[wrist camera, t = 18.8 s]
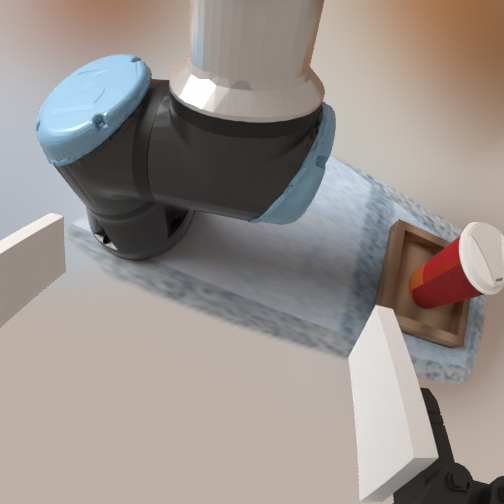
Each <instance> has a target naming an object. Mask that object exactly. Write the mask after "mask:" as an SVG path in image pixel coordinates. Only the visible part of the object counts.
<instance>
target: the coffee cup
mask: <svg viewBox="0 0 504 504" xmlns="http://www.w3.org/2000/svg"><path fill="white" fill-rule="evenodd" d="M503 287H504V236H503V235H502V233H501V232H500V231H499V230H497V229H496V228H495V227H493V226H492V225H490V224H486V223H483V222H473V223H470V224H468V225H467V227H466V228H465V229H464V231H463V232H462V234H461V236H459V237H458V238H457V239H456V240H454V241H453V242H452V243H451V244H449V245H448V246H447V247H445V248H444V249H443V250H442V251H440V252H439V253H438V254H436V255H435V256H434V257H433V258H431V259H430V260H429V261H427V262H426V263H425V264H423V265H422V266H421V267H420V268H418V269H417V270H416V271H415V272H414V273H413V274H412V276H411V277H410V280H409V292H410V295H411V298H412V299H413V301H414V302H415V303H416V304H417V305H418V306H420V307H422V308H434V307H439V306H443V305H447V304H451V303H454V302H458V301H462V300H465V299H469V298H473V297H477V296H480V295H483V294H486V295H493V294H496V293H498V292H499V291H500V290H501V289H502V288H503Z"/></svg>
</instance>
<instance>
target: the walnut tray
mask: <svg viewBox="0 0 504 504" xmlns="http://www.w3.org/2000/svg"><path fill="white" fill-rule="evenodd" d="M449 244H451V243H450V242H448V241H446V240H443V239H441V238H439V237H437V236H435V235H433V234H431V233H429V232H426V231H424V230H422V229H420V228H418V227H415V226H413V225H411V224H409V223H406V222H404V221H402V220H400V219H399V220H398V221H397V222H396V223H395V224H394V225H393V226H392V227H391V228H390V233H389V238H388V243H387V248H386V254H385V258H384V263H383V268H382V273H381V277H380V281H379V286H378V290H377V294H376V298H375V302H374V306H373V309H374V307H375V305H378V306H382V307H386V308H390V309H393V311H394V314H395V316H396V319H397V322H398V324H399V327H400V330H401V332H403V333H406V334H409V335H412V336H415V337H418V338H421V339H424V340H427V341H430V342H433V343H436V344H439V345H442V346H445V347H448V348H455V347H461V346H463V341H464V336H465V330H466V324H467V317H468V310H469V303H470V298H469V299H465V300H462V301H458V302H454V303H451V304H447V305H443V306H439V307H434V308H422V307H420V306H418V305H417V304H416V303H415V302H414V301H413V299H412V298H411V295H410V292H409V280H410V277H411V276H412V274H413V273H414V272H415V271H416V270H417V269H418V268H420V267H421V266H422V265H423V264H425V263H426V262H427V261H429V260H430V259H431V258H433V257H434V256H435V255H436V254H438V253H439V252H440V251H442V250H443V249H444V248H445V247H447V246H448V245H449ZM372 311H373V310H372Z"/></svg>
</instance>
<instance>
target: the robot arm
mask: <svg viewBox="0 0 504 504" xmlns="http://www.w3.org/2000/svg"><path fill="white" fill-rule="evenodd" d="M323 4H324V0H190V55H189V56H188V58H186V59H185V60H184V61H183V62H182V63H181V64H179V65H178V66H177V67H176V68H175V70H173V72H172V74H171V76H170V80H158V79H152V78H151V76H152V74H151V70H150V68H149V67H148V66H147V65H146V63H145V62H143V61H141V59H140V58H139V57H137V56H134V55H128V54H118V55H112V56H107V57H104V58H100V59H98V60H95V61H93V62H91V63H89V64H87V65H85V66H83V67H81V68H80V69H78V70H77V71H75V72H74V73H72V74H71V75H69V76H68V77H67V78H65V79H64V80H63V81H62V82H61V83H60V84H59V85H58V86H57V87H56V88H55V89H54V90H53V91H52V92H51V94H50V95H49V97H48V98H47V99H46V101H45V102H44V104H43V106H42V108H41V110H40V112H39V115H38V118H37V122H36V132H37V139H38V141H39V143H40V145H41V147H42V149H43V151H44V153H45V155H46V158H47V160H48V161H49V162H50V164H53V165H54V166H55V168H56V169H57V170H58V172H59V173H60V174H61V175H62V177H63V178H64V179H65V181H66V182H67V183H68V184H69V186H70V187H71V188H72V189H73V191H74V192H75V193H76V194H77V195H78V197H79V198H80V199H81V201H82V202H83V203H84V204H85V205H86V209H87V214H88V220H89V224H90V227H91V230H92V232H93V234H94V236H95V237H96V239H97V240H98V241H99V242H100V243H101V244H102V245H103V246H104V247H105V248H106V249H107V250H108V251H109V252H111V253H112V254H114V255H116V256H119V257H121V258H125V259H131V260H141V259H147V258H151V257H154V256H157V255H159V254H161V253H163V252H165V251H167V250H168V249H170V248H171V247H172V246H174V245H175V244H176V243H177V242H178V241H179V240H180V239H181V238H182V236H183V235H184V234H185V232H186V231H187V229H188V227H189V225H190V223H191V220H192V217H193V213H194V210H197V211H202V212H207V213H212V214H217V215H222V216H226V217H231V218H236V219H241V220H246V221H248V222H251V223H256V222H265V223H273V224H280V225H285V224H290V223H292V222H294V221H296V220H297V219H299V218H300V217H301V216H302V215H303V214H304V213H305V211H306V210H307V208H308V207H309V205H310V204H311V202H312V200H313V198H314V196H315V194H316V192H317V190H318V188H319V186H320V184H321V181H322V179H323V176H324V173H325V163H326V162H327V160H328V158H329V156H330V153H331V150H332V146H333V141H334V135H335V127H336V122H335V121H336V119H335V112H334V111H333V109H332V108H331V106H329V105H327V104H326V103H325V102H323V98H324V94H325V90H324V86H323V83H322V82H321V81H320V79H319V78H318V76H317V75H316V74H315V72H314V71H313V70H312V69H311V67H310V63H311V59H312V54H313V50H314V44H315V41H316V36H317V32H318V27H319V23H320V18H321V13H322V9H323ZM65 272H66V268H65V249H64V217H63V216H60V215H57V214H54V213H50V214H48V215H46V216H44V217H42V218H40V219H38V220H37V221H35V222H33V223H31V224H29V225H27V226H26V227H24V228H22V229H20V230H18V231H17V232H15V233H13V234H11V235H10V236H8V237H6V238H4V239H3V240H1V241H0V328H1V327H2V326H3V325H4V324H5V323H6V322H7V321H8V320H9V319H11V318H12V317H13V316H14V315H15V314H16V313H17V312H18V311H19V310H21V309H22V308H23V307H24V306H25V305H26V304H28V303H29V302H30V301H31V300H32V299H33V298H34V297H36V296H37V295H38V294H39V293H40V292H42V290H44V289H45V288H46V287H47V286H49V285H50V284H51V283H52V282H54V281H55V280H56V279H57V278H59V277H60V276H61V275H62V274H64V273H65ZM348 359H349V367H350V374H351V384H352V393H353V403H354V414H355V425H356V438H357V453H358V469H359V494H360V501H364V502H382V501H384V500H385V499H386V498H388V497H389V496H391V495H392V494H393V497H394V503H393V504H504V476H501V477H498V478H496V479H495V480H494V481H493V482H491V483H490V484H486V483H482V482H478V481H474V480H473V479H472V476H471V475H470V472H469V471H468V470H467V469H466V468H465V467H464V466H462V465H460V464H458V463H455V461H454V458H453V454H452V450H451V447H450V443H449V440H448V436H447V432H446V429H445V426H444V425H443V423H444V422H443V419H442V416H441V415H440V409H439V406H438V403H437V400H436V399H435V397H434V396H433V395H432V393H431V392H430V390H429V389H427V388H420V387H419V383H418V380H417V377H416V374H415V370H414V367H413V364H412V361H411V358H410V355H409V352H408V349H407V347H406V344H405V341H404V338H403V335H402V332H401V330H400V327H399V324H398V322H397V319H396V316H395V314H394V311H393V309H390V308H386V307H382V306H378V305H375V307H374V309H373V311H372V313H371V315H370V317H369V319H368V321H367V323H366V325H365V327H364V329H363V331H362V333H361V335H360V337H359V339H358V340H357V342H356V344H355V346H354V348H353V350H352V351H351V353H350V355H349V357H348Z"/></svg>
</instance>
